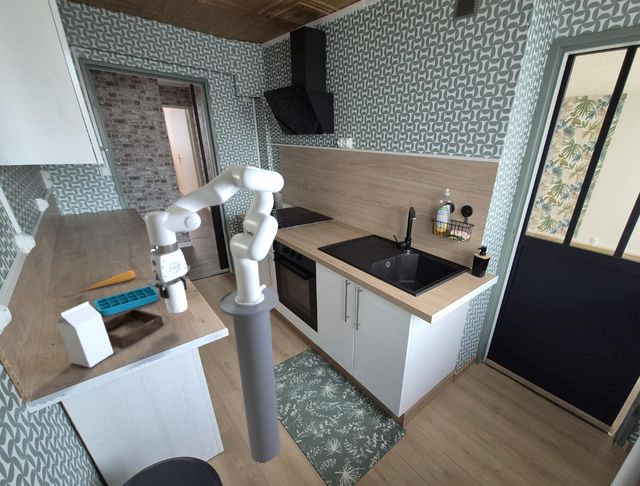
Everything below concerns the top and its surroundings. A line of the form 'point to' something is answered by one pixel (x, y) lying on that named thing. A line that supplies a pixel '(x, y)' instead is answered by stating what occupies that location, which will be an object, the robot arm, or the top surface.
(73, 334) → the milk carton
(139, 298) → the ice cube tray
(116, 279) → the carrot
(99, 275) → the top surface
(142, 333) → the crate
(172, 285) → the can
